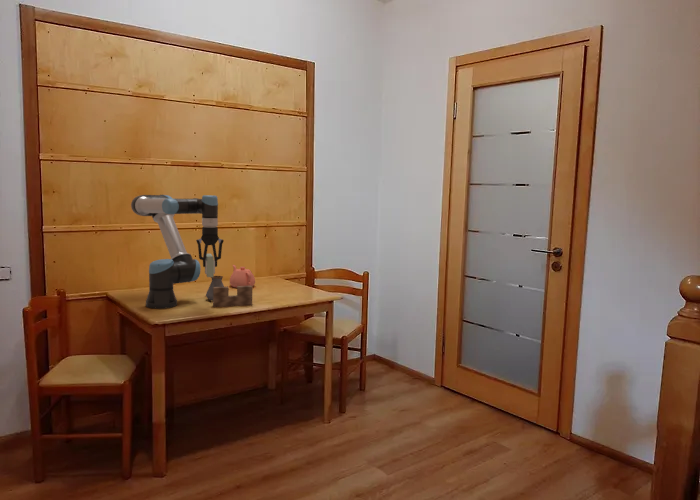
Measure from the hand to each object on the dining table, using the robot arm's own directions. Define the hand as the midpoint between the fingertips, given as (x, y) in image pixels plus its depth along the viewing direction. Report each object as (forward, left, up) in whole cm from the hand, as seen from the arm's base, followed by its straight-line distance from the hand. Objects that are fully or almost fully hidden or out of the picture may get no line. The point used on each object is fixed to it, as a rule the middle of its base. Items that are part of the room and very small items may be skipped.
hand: (210, 273), depth 265 cm
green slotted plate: (0, +5, -2) cm, 5 cm away
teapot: (+27, +56, -19) cm, 65 cm away
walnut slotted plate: (+13, +7, -19) cm, 24 cm away
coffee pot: (+6, +27, -19) cm, 34 cm away
